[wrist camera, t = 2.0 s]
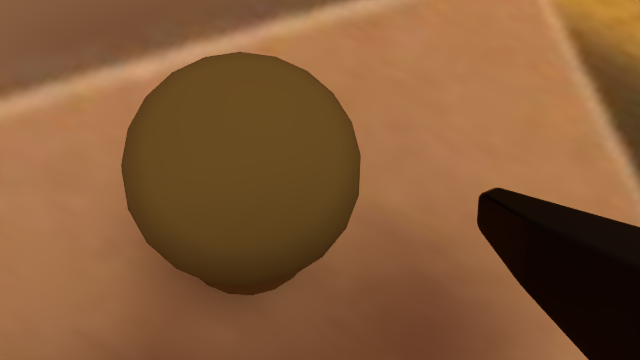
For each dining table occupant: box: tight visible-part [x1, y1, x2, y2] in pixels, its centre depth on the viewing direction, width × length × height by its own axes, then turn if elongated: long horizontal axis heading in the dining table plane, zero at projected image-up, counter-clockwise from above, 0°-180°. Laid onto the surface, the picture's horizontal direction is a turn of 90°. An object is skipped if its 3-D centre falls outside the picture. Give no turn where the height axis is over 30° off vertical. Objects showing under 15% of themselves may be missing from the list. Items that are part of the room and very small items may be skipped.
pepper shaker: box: [121, 52, 360, 295], centre depth 14 cm, size 6×6×11 cm
